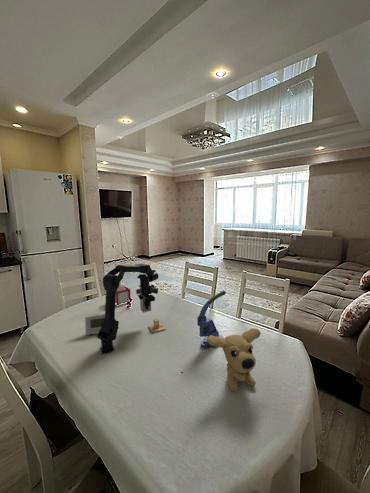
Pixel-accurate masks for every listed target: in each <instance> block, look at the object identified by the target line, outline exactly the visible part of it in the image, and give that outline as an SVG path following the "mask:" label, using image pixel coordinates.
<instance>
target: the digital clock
mask: <svg viewBox="0 0 370 493" xmlns="http://www.w3.org/2000/svg"><path fill="white" fill-rule="evenodd" d="M104 319H105V312H104V313H98V314H91V315H86V316H85V318H84V321H85V322H84V323H85V326H84V327H85V335H86V336H90V334H94V335H97V333H99V331H100V329H101V326H102V322H103V321H104Z"/></svg>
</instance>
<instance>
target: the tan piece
mask: <svg viewBox="0 0 370 493" xmlns="http://www.w3.org/2000/svg"><path fill="white" fill-rule="evenodd" d="M147 328H148V329H149V331H150V332H151V333H152V334H155V333H159V332H163V331H165V330H166V328H165V327H164V326H163V325H162V323H160V320H159V318H155V319H153V325H152V324H151V325H148V327H147Z"/></svg>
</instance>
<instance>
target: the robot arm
mask: <svg viewBox="0 0 370 493" xmlns="http://www.w3.org/2000/svg"><path fill="white" fill-rule="evenodd" d="M125 273H139V275H138V276H137V279H139V285H138V287H139V288H137V289H136V290H135V293H136V295H137V296H138V299H139V301H140V300H141V299H144V300H143V303H144V305H145V307H146V310H147V309H148V308H149V304H150V302H151V303H152V302H155V301H156V296H154V295H153V294H155V295H158V293H159V288H157V287H156V286H155V285H154V284H150V283H151V282H154V281H157V280H159V276H160V275H159V273H158V272H157V269H152V268H151V266H150V264H147V263H146V264H145V263H138V264H136V265H135V264H134V265H132V264H130V265H128V264H125V265H123V264H117V265H115V267H114V268H113V269H111V270H109V271H108V272H107V274H105V275H104V276H103V277H102V285H103V288H104V290H105V307H104V308H105V309H104V310H105V311H104V313H105V319H104V321H103V322H102V326H101V329H100V331H99V333H98V334H96V337H97V339H98V340H100V344H101V345H100V346H101V347H100V348H99V349H100V353H101V355H105V354H109V353H112V352H115V351H116V349H115V347H114V341H115V340H116V339H117V334H118V330H119V322H120V321H119V320H116V305H115V299H116V291H117V289H118V287H119V283H120V282H121V281H122V280H123V279H124V276H125Z"/></svg>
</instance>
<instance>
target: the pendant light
mask: <svg viewBox="0 0 370 493" xmlns="http://www.w3.org/2000/svg"><path fill="white" fill-rule="evenodd" d="M128 298H131V299H132V296H131V288H128V287H127V286H125V285H123V284H121V281H120V283H119V287H118V289H117V291H116V299H115V303H117V305H119V304H121V303H125V302H127V299H128Z"/></svg>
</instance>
